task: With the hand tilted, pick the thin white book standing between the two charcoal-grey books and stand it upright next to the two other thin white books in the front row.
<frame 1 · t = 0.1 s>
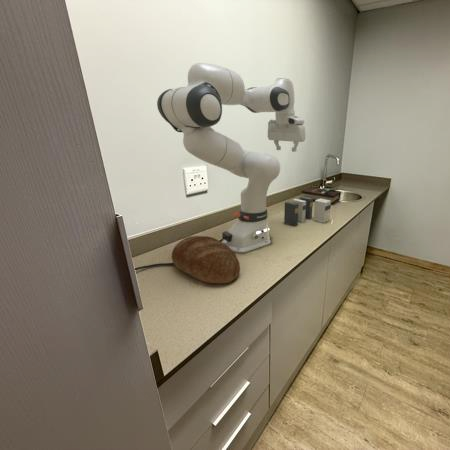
hand: (286, 150, 117), 39 cm above the worktop, tool pointing down, fingers open, 8 cm apart
grey book right: (305, 217, 145), on the worktop
bread: (206, 269, 87), on the worktop
white book b: (322, 219, 143), on the worktop
white book: (298, 220, 139), on the worktop
decorative book: (320, 200, 186), on the worktop
white book a: (320, 221, 140), on the worktop
grey book left: (290, 224, 133), on the worktop
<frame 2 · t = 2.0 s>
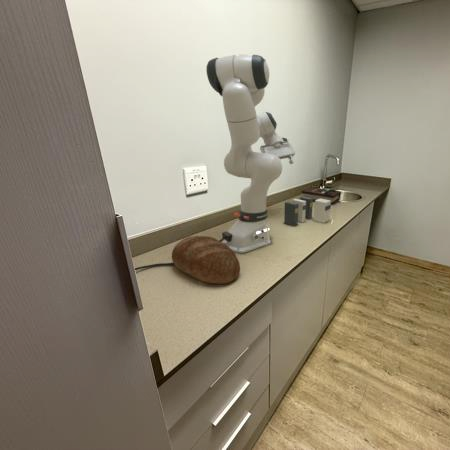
hand: (285, 164, 133), 30 cm above the worktop, tool tilted 40°, fingers open, 8 cm apart
nothing on the worktop moved.
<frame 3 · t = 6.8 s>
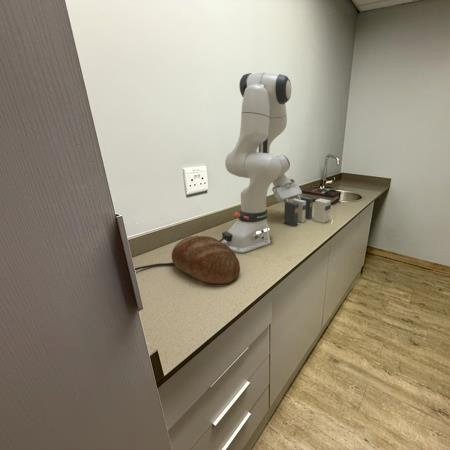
hand: (295, 204, 137), 9 cm above the worktop, tool tilted 45°, fingers open, 8 cm apart
grey book right: (305, 217, 145), on the worktop, touching gripper
everything else where it was.
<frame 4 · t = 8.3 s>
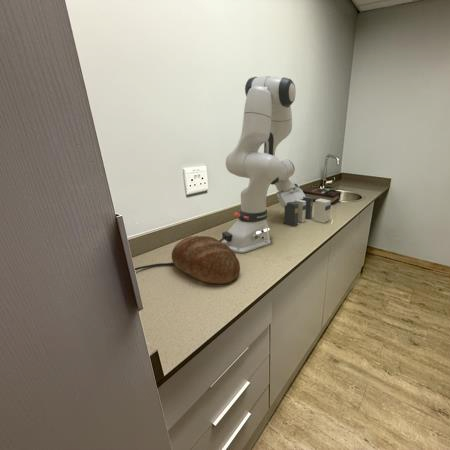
hand: (299, 209, 137), 7 cm above the worktop, tool tilted 45°, fingers closed on white book, 3 cm apart
grey book right: (305, 217, 145), on the worktop, tilted 7°
white book: (298, 220, 139), on the worktop, touching gripper
everything else where it was.
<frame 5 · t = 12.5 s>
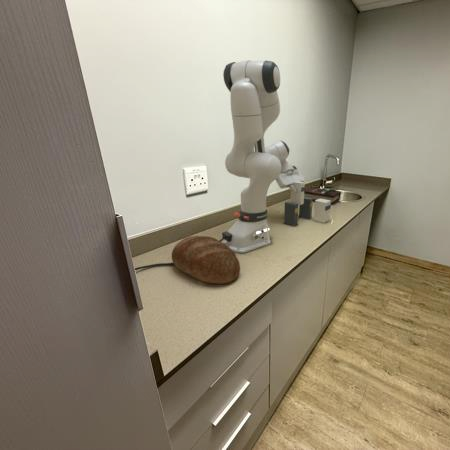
hand: (298, 191, 133), 17 cm above the worktop, tool tilted 45°, fingers closed on white book, 3 cm apart
grey book right: (305, 217, 145), on the worktop
white book: (296, 203, 136), point 10 cm above the worktop, touching gripper
everything else where it was.
when the fingers open (7 cm above the worktop, at t = 16.9 s): white book stays where it is, on the worktop.
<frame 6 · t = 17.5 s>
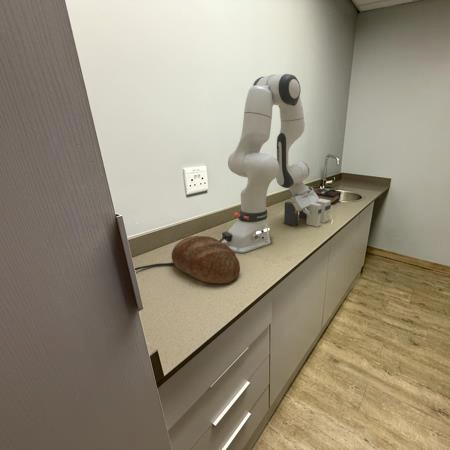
hand: (314, 213, 131), 7 cm above the worktop, tool tilted 45°, fingers open, 8 cm apart
white book: (313, 224, 134), on the worktop
white book a: (320, 221, 140), on the worktop, touching gripper
everything else where it was.
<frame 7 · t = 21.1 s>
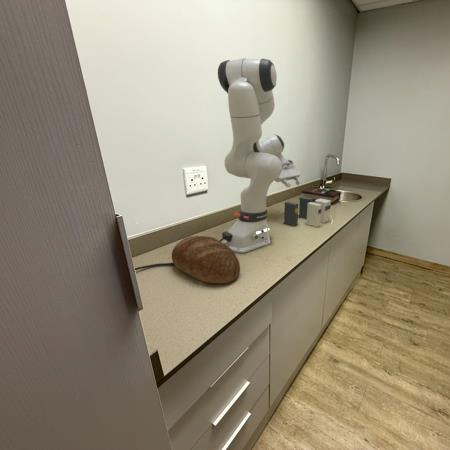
hand: (294, 185, 133), 20 cm above the worktop, tool tilted 45°, fingers open, 8 cm apart
white book a: (320, 221, 140), on the worktop
everything else where it was.
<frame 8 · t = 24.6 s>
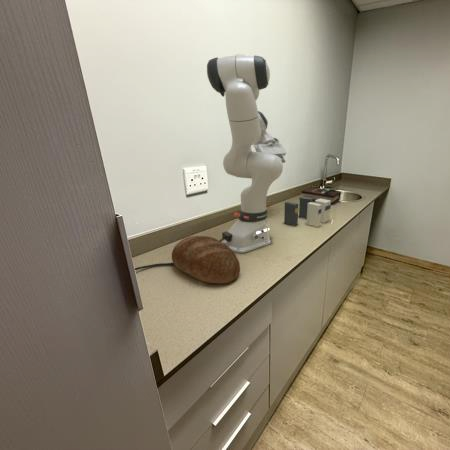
hand: (279, 162, 133), 31 cm above the worktop, tool tilted 45°, fingers open, 8 cm apart
nothing on the worktop moved.
at the end: white book inside the target area (0.2 cm from its centre), on the worktop; white book 7.9 cm from the white book a (horizontally); white book tilted 0° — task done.
